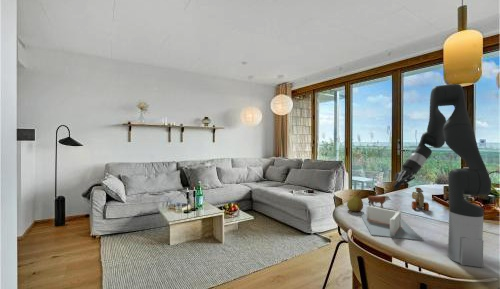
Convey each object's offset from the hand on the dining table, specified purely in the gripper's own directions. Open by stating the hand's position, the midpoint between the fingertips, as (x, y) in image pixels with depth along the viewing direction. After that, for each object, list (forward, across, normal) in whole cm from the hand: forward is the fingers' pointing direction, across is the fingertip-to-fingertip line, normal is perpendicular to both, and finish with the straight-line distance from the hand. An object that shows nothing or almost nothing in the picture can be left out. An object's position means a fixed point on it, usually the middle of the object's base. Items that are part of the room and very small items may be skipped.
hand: (394, 188), depth 128 cm
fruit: (+21, -21, +2) cm, 29 cm away
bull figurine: (+8, -29, +17) cm, 34 cm away
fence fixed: (+20, +13, +5) cm, 24 cm away
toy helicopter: (-8, -28, +36) cm, 46 cm away
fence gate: (+19, +1, +4) cm, 19 cm away
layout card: (+19, +5, +6) cm, 20 cm away
